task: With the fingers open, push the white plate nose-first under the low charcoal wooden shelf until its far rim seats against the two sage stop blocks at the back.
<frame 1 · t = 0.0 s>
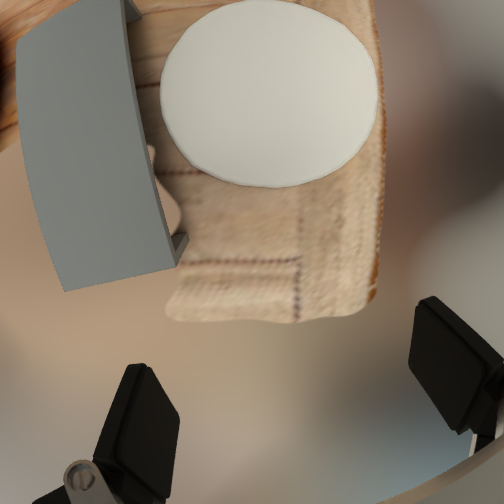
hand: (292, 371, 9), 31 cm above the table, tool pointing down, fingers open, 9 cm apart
plate: (268, 89, 34), on the table
shelf: (106, 133, 33), on the table
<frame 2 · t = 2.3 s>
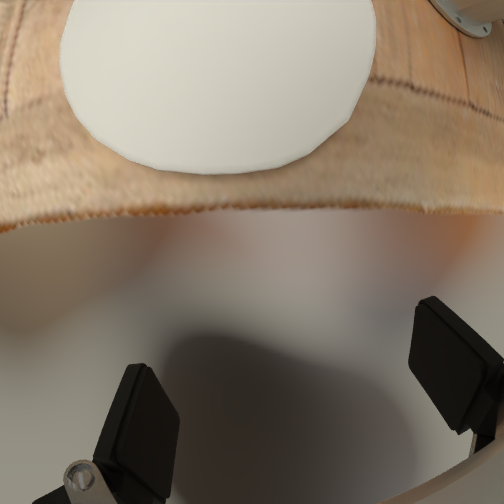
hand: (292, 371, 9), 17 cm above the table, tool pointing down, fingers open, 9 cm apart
plate: (215, 25, 19), on the table
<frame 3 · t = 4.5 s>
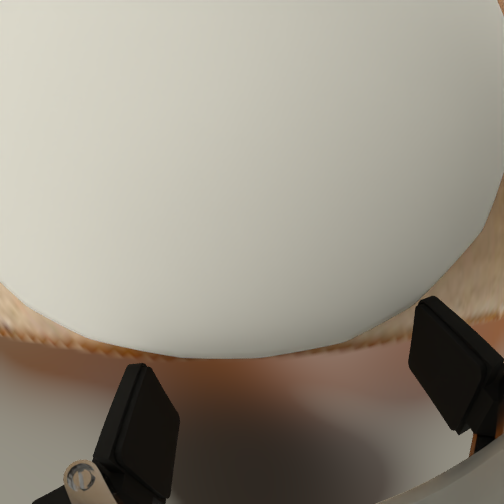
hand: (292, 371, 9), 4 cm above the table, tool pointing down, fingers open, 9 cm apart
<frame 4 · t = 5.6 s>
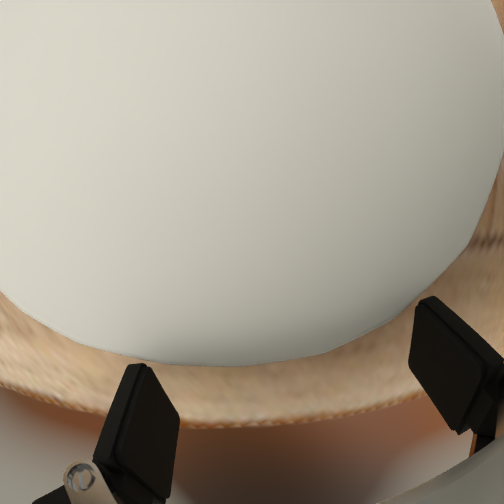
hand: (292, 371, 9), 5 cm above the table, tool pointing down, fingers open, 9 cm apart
plate: (200, 4, 9), on the table, touching gripper
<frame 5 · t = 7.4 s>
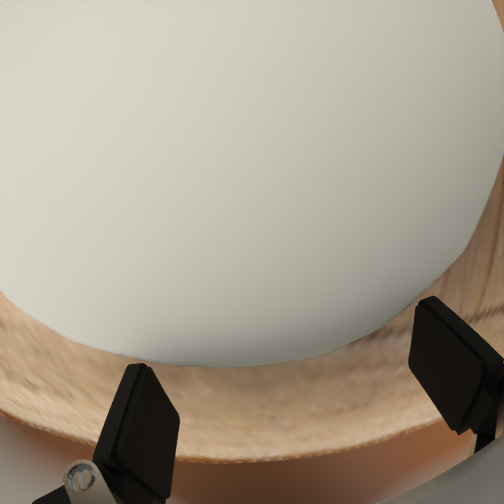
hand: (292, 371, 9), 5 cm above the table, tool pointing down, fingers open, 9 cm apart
plate: (201, 3, 9), on the table, touching gripper
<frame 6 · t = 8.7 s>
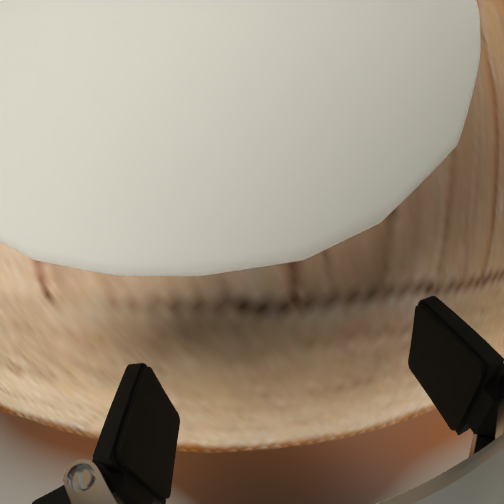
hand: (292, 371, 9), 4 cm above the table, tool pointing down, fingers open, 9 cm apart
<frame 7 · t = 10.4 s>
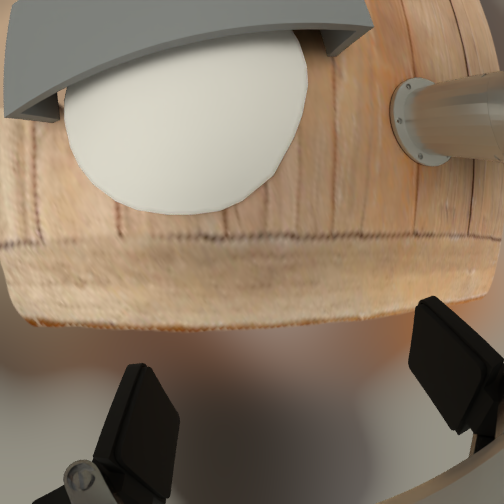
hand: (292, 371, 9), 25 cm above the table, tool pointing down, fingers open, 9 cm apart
plate: (183, 90, 28), on the table
shelf: (176, 20, 24), on the table
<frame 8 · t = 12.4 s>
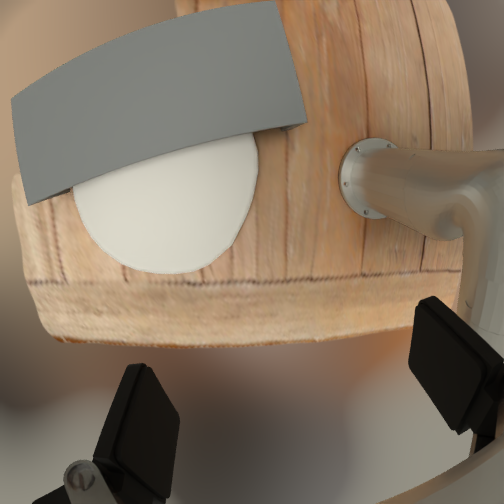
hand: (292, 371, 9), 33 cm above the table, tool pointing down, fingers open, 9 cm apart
plate: (163, 171, 38), on the table
shelf: (153, 106, 35), on the table
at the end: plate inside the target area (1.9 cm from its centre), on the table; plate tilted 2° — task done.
